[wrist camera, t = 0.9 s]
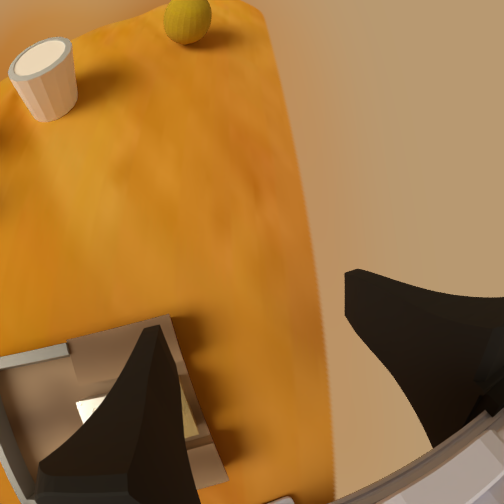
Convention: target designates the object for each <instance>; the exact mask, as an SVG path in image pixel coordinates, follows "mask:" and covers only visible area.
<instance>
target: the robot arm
mask: <svg viewBox="0 0 504 504" xmlns="http://www.w3.org/2000/svg"><path fill="white" fill-rule="evenodd" d="M345 316H346V318H347V319H348V321H349V323H350V324H351V326H352V327H353V329H354V330H355V332H356V333H357V334H358V336H359V337H360V338H361V339H362V340H363V342H364V343H365V344H366V345H367V346H368V347H369V349H370V350H371V351H372V352H373V353H374V354H375V355H376V356H377V358H378V359H379V360H380V361H381V362H382V363H383V364H384V366H385V367H386V368H387V369H388V370H389V372H390V373H391V374H392V376H393V377H394V378H395V380H396V381H397V383H398V384H399V386H400V387H401V389H402V390H403V392H404V393H405V395H406V397H407V399H408V400H409V402H410V404H411V405H412V407H413V409H414V410H415V412H416V414H417V416H418V418H419V420H420V422H421V423H422V425H423V427H424V430H425V432H426V434H427V436H428V438H429V440H430V443H431V445H432V447H433V449H432V450H430V451H429V452H427V453H426V454H424V455H423V456H421V457H419V458H418V459H416V460H414V461H413V462H411V463H410V464H408V465H406V466H404V467H403V468H401V469H399V470H397V471H395V472H394V473H392V474H390V475H388V476H386V477H384V478H382V479H381V480H379V481H377V482H375V483H373V484H371V485H369V486H367V487H364V488H362V489H360V490H358V491H356V492H354V493H352V494H349V495H347V496H345V497H343V498H340V499H338V500H335V501H333V502H331V503H328V504H504V297H500V298H483V297H468V296H458V295H451V294H446V293H441V292H435V291H431V290H427V289H423V288H419V287H416V286H412V285H409V284H406V283H402V282H399V281H396V280H393V279H390V278H387V277H384V276H381V275H378V274H375V273H372V272H369V271H365V270H361V269H355V270H352V271H349V272H346V273H345ZM34 500H35V502H36V503H37V504H201V502H200V499H199V496H198V493H197V489H196V486H195V482H194V478H193V474H192V471H191V467H190V462H189V458H188V454H187V449H186V444H185V437H184V425H183V413H182V400H181V387H180V382H179V377H178V372H177V366H176V363H175V361H174V358H173V356H172V354H171V351H170V349H169V346H168V344H167V341H166V339H165V337H164V334H163V331H162V329H161V326H160V324H159V325H155V326H151V327H146V328H144V329H143V331H142V332H141V334H140V336H139V338H138V341H137V343H136V345H135V347H134V349H133V351H132V353H131V355H130V357H129V359H128V360H127V362H126V364H125V366H124V368H123V370H122V372H121V373H120V375H119V377H118V378H117V380H116V382H115V384H114V385H113V387H112V388H111V390H110V391H109V393H108V394H107V396H106V397H105V398H104V400H103V401H102V403H101V404H100V405H99V406H98V408H97V409H96V410H95V411H94V412H93V414H92V415H91V416H90V417H89V418H88V419H87V420H86V422H85V423H84V424H83V425H82V426H81V427H80V428H79V429H78V430H77V431H76V432H75V433H74V434H73V435H72V436H71V437H70V438H69V439H68V440H67V441H65V442H64V443H63V444H62V445H61V446H60V447H58V448H57V449H56V450H55V451H53V452H52V453H51V454H49V455H48V456H47V457H45V458H44V459H43V460H41V461H40V462H39V465H38V471H37V478H36V485H35V493H34ZM267 504H294V501H293V499H292V498H291V497H289V496H286V497H283V498H280V499H278V500H275V501H273V502H270V503H267Z"/></svg>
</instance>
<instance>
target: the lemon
mask: <svg viewBox="0 0 504 504" xmlns="http://www.w3.org/2000/svg"><path fill="white" fill-rule="evenodd" d="M210 23H211V7H210V5H209V3H208V1H207V0H172V1H171V2H170V3H169V4H168V6H167V8H166V11H165V14H164V22H163V24H164V29H165V32H166V34H167V36H168V37H169V38H170V39H171V40H173V41H174V42H176V43H180V44H183V45H187V44H190V43H194V42H196V41H198V40H200V39H201V38H202V37H203V36H204V35H205V34H206V33H207V31H208V29H209V27H210Z"/></svg>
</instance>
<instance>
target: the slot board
mask: <svg viewBox="0 0 504 504" xmlns="http://www.w3.org/2000/svg"><path fill="white" fill-rule="evenodd" d="M159 324H160V326H161V329H162V331H163V334H164V337H165V339H166V341H167V344H168V346H169V349H170V351H171V354H172V356H173V358H174V361H175V363H176V366H177V372H178V375H179V376H180V379H181V382H182V385H183V387H184V390H185V393H186V396H187V399H188V401H189V404H190V407H191V410H192V412H193V415H194V418H195V420H196V423H197V425H198V430H199V434H198V435H194V436H191V437H187V438H185V444H186V449H187V454H188V458H189V462H190V467H191V471H192V474H193V478H194V482H195V486H196V489H197V490H198V489H202V488H206V487H209V486H213V485H216V484H220V483H223V482H226V481H229V478H228V476H227V473H226V471H225V468H224V466H223V463H222V461H221V458H220V456H219V454H218V451H217V449H216V446H215V444H214V442H213V439H212V437H211V434H210V431H209V429H208V426H207V424H206V421H205V419H204V416H203V413H202V411H201V408H200V405H199V402H198V400H197V397H196V394H195V391H194V389H193V386H192V383H191V380H190V377H189V374H188V371H187V368H186V365H185V362H184V359H183V356H182V353H181V350H180V347H179V343H178V340H177V337H176V334H175V331H174V327H173V324H172V321H171V317H170V315H169V314H167V315H163V316H159V317H155V318H152V319H148V320H144V321H140V322H137V323H133V324H129V325H125V326H121V327H117V328H113V329H109V330H105V331H101V332H97V333H93V334H89V335H85V336H81V337H77V338H73V339H69V340H67V344H68V348H69V352H70V357H66V358H61V359H56V360H52V361H47V362H42V363H38V364H33V365H28V366H23V367H17V368H12V369H7V370H2V371H0V395H1V399H2V402H3V405H4V409H5V412H6V415H7V418H8V421H9V423H10V426H11V429H12V432H13V434H14V437H15V440H16V442H17V445H18V447H19V450H20V452H21V455H22V457H23V459H24V461H25V464H26V466H27V468H28V470H29V472H30V475H31V477H32V479H33V481H34V483H35V485H36V478H37V471H38V465H39V462H40V461H41V460H43V459H44V458H45V457H47V456H48V455H49V454H51V453H52V452H53V451H55V450H56V449H57V448H58V447H60V446H61V445H62V444H63V443H64V442H65V441H67V440H68V439H69V438H70V437H71V436H72V435H73V434H74V433H75V432H76V431H77V430H78V429H79V428H80V427H81V426H82V425H83V422H82V419H81V416H80V414H79V411H78V408H77V405H76V402H77V401H79V400H81V399H84V398H86V397H90V396H95V395H100V394H104V393H109V391H110V390H111V388H112V387H113V385H114V384H115V382H116V380H117V378H118V377H119V375H120V373H121V372H122V370H123V368H124V366H125V364H126V362H127V360H128V359H129V357H130V355H131V353H132V351H133V349H134V347H135V345H136V343H137V341H138V338H139V336H140V334H141V332H142V331H143V329H144V328H146V327H151V326H155V325H159Z"/></svg>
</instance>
